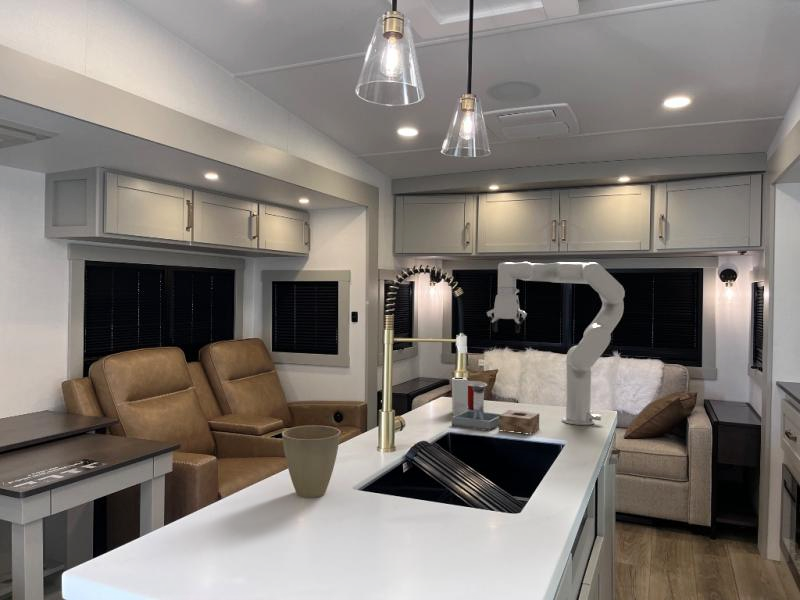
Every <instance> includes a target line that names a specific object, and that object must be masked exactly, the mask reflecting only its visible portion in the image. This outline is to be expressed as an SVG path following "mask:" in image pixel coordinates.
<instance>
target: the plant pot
mask: <svg viewBox="0 0 800 600" xmlns="http://www.w3.org/2000/svg"><path fill="white" fill-rule="evenodd" d="M340 436H341V430H340V429H338V428H336V427H333V426H327V425H302V426H294V427H290V428H287V429H285V430H283V431H282V433H281V437H282V444H283V452H284V455H285V461H286V465H287V469H288V472H289V477H290V480H291V482H292V486H293V488H294V490H295V494H296V495H297V496H298V497H300V498H304V499H314V498H315V499H316V498H320V497H322V496H324V495H325V494H326V492H327V490H328V486H329V483H330V481H331V478H332V474H333V471H334V469H335V463H336V460H337V455H338V450H339V444H340V439H341V438H340Z"/></svg>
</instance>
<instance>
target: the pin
mask: <svg viewBox="0 0 800 600" xmlns="http://www.w3.org/2000/svg"><path fill="white" fill-rule="evenodd" d="M473 390H474V410H473V411H474V417H473V419H476V420H484V412H485V410H484V406H485V405H484V404H485V401H484V400H485V390H486V388H485V386H482V385H474V386H473Z"/></svg>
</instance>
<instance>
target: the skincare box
mask: <svg viewBox="0 0 800 600" xmlns="http://www.w3.org/2000/svg"><path fill="white" fill-rule="evenodd" d="M455 378H456V377H452V378H451V395H452V396H451V405H452V406H451V409H452V415H453V416H455V415H458V414H460V413H463V412H465V411H467V410H469V408H468V381H469V380H468V379H467V377H462V378H463V379H455Z"/></svg>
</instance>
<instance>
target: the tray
mask: <svg viewBox="0 0 800 600" xmlns="http://www.w3.org/2000/svg"><path fill="white" fill-rule="evenodd" d="M501 414H502V413H493V412H485V411H484V420H476V419H473V417H474V410H471V409H468V410H467V411H465V412H463V413H460V414H458V415H453V416H451V426H452V427H458V426H459V427H460V428H465V427H468V428H467V429H472V428H476V429H475V430H480V429H485V430H484V431H487V430H490V431H492V430H494V429H496V428H498V427H499V415H501ZM497 426H498V427H497ZM459 427H458V428H459ZM495 427H496V428H495ZM493 428H494V429H493ZM491 429H492V430H491Z"/></svg>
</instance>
